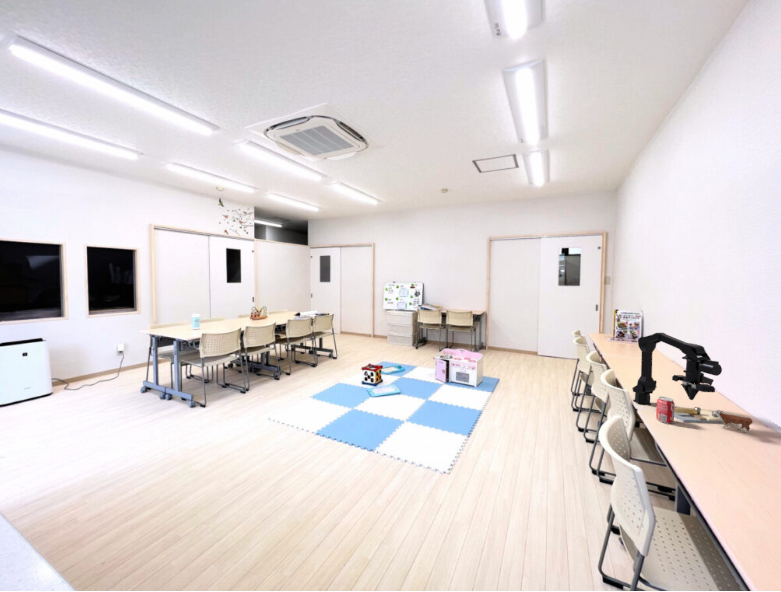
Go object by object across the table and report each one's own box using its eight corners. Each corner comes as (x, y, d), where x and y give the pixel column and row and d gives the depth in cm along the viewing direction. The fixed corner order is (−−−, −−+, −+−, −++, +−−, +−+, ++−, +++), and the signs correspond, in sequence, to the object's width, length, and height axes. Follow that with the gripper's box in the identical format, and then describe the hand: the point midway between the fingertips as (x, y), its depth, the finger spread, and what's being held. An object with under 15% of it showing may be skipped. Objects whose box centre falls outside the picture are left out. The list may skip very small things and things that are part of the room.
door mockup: (683, 422, 167) (684, 413, 167) (665, 412, 179) (665, 404, 179) (730, 423, 166) (731, 415, 165) (709, 413, 178) (709, 405, 177)
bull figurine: (712, 422, 166) (713, 407, 166) (751, 432, 157) (752, 415, 156) (711, 425, 163) (713, 409, 163) (751, 435, 154) (753, 418, 153)
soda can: (670, 420, 169) (672, 397, 168) (675, 425, 163) (677, 402, 162) (653, 417, 172) (655, 395, 171) (658, 422, 166) (659, 399, 165)
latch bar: (697, 412, 173) (698, 406, 173) (701, 414, 171) (702, 408, 171) (673, 411, 174) (674, 406, 174) (677, 413, 171) (677, 408, 171)
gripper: (728, 375, 155) (725, 407, 156) (694, 365, 173) (691, 393, 174) (703, 375, 155) (701, 406, 156) (672, 364, 174) (670, 393, 175)
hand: (691, 399), depth 165 cm, fingers closed
